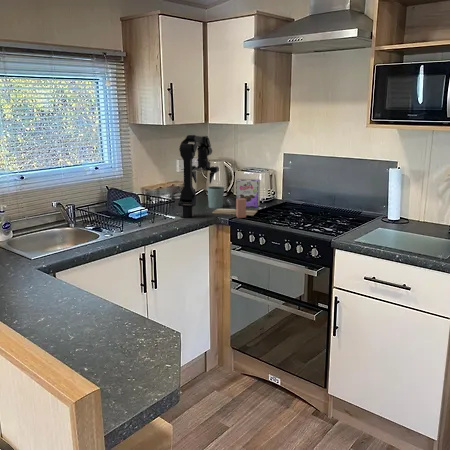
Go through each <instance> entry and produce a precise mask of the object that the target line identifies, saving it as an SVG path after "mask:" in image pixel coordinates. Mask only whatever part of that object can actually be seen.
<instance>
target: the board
mask: <svg viewBox="0 0 450 450" xmlns="http://www.w3.org/2000/svg"><path fill="white" fill-rule="evenodd" d="M256 213H258V210H256V209H246V216H252V217H253V216H254V215H256ZM211 214H212V215H213V214H214V215H215V214H216V215H231V214H233V216H236V209H234V208H215V210H213V211H212V212H211Z"/></svg>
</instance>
